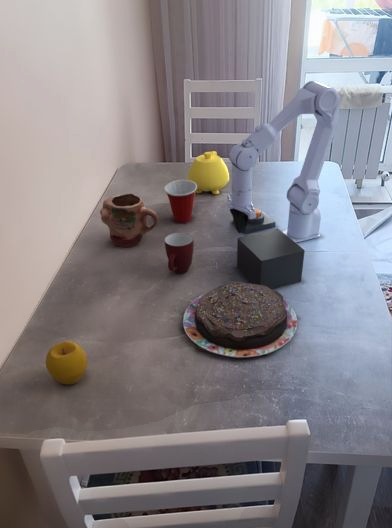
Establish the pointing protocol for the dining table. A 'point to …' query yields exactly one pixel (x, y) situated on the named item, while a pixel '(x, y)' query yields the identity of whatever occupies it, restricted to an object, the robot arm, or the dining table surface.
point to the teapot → (209, 173)
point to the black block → (270, 259)
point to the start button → (257, 213)
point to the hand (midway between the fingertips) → (240, 231)
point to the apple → (66, 362)
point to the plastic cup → (181, 199)
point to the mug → (179, 251)
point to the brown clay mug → (126, 219)
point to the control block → (259, 223)
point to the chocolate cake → (240, 320)
